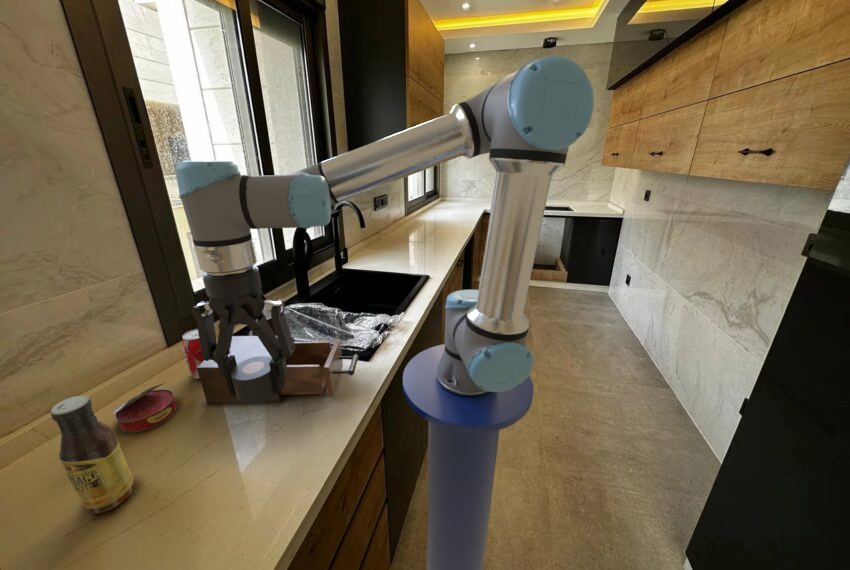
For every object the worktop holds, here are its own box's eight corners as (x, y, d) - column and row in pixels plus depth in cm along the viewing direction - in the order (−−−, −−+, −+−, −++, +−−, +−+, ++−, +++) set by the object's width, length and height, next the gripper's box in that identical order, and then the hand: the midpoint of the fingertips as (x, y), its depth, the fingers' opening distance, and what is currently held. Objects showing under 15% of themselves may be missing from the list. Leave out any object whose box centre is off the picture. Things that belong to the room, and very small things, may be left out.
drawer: (361, 365, 88) (359, 338, 85) (353, 396, 77) (350, 367, 74) (285, 366, 88) (280, 339, 85) (265, 398, 76) (259, 368, 73)
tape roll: (285, 377, 62) (281, 355, 60) (271, 403, 55) (265, 379, 53) (247, 379, 61) (242, 356, 60) (229, 405, 55) (222, 381, 53)
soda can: (189, 372, 87) (177, 332, 82) (219, 362, 91) (209, 324, 86) (194, 385, 82) (181, 344, 77) (225, 373, 86) (215, 334, 82)
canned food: (136, 450, 69) (90, 430, 63) (143, 415, 77) (102, 395, 70) (186, 414, 71) (146, 392, 65) (188, 385, 79) (153, 362, 73)
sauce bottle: (75, 513, 52) (20, 416, 45) (115, 478, 58) (72, 387, 51) (110, 520, 51) (59, 422, 44) (147, 483, 57) (107, 392, 50)
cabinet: (298, 367, 89) (293, 335, 85) (279, 402, 76) (272, 366, 72) (236, 368, 88) (228, 336, 84) (207, 404, 76) (196, 367, 72)
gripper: (144, 278, 46) (188, 406, 54) (288, 275, 47) (309, 402, 55) (178, 261, 53) (212, 378, 61) (303, 259, 54) (320, 374, 62)
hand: (258, 389), depth 58 cm, fingers closed on tape roll, 7 cm apart
